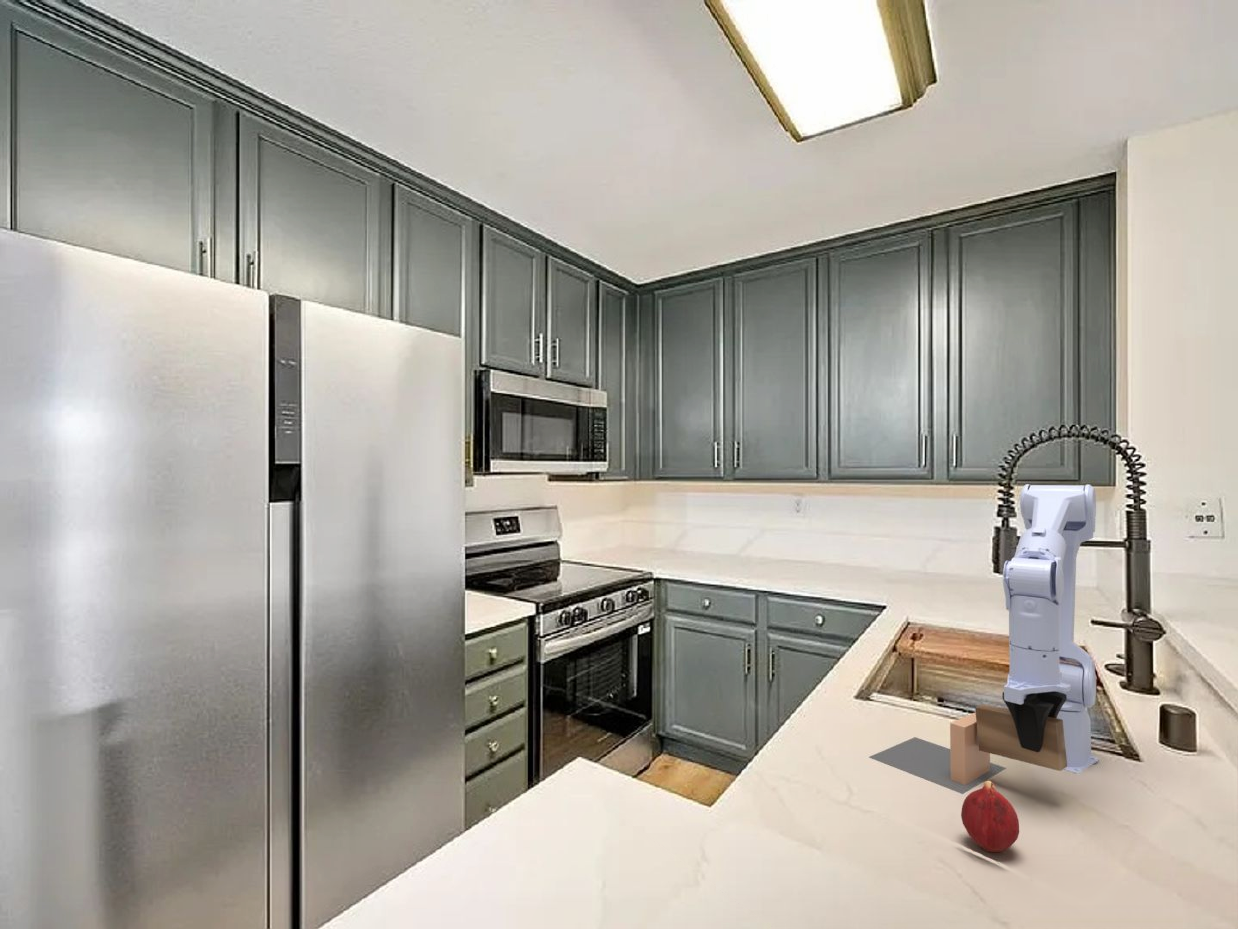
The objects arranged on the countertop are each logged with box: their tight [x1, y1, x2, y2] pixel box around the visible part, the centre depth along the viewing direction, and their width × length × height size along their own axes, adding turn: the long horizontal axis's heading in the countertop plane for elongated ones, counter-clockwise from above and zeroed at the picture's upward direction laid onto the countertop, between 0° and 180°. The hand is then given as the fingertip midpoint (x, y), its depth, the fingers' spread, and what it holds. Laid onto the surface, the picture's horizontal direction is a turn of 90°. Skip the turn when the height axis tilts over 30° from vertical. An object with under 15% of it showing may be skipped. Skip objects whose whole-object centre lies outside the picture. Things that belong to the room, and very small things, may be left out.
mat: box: [868, 736, 1007, 795], centre depth 94 cm, size 14×14×1 cm
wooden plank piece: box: [974, 703, 1067, 772], centre depth 85 cm, size 2×10×6 cm, turn 37°
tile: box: [949, 711, 991, 785], centre depth 90 cm, size 8×2×8 cm, turn 126°
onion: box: [960, 779, 1020, 853], centre depth 71 cm, size 6×6×8 cm
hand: (1035, 746), depth 83 cm, fingers closed on wooden plank piece, 2 cm apart
